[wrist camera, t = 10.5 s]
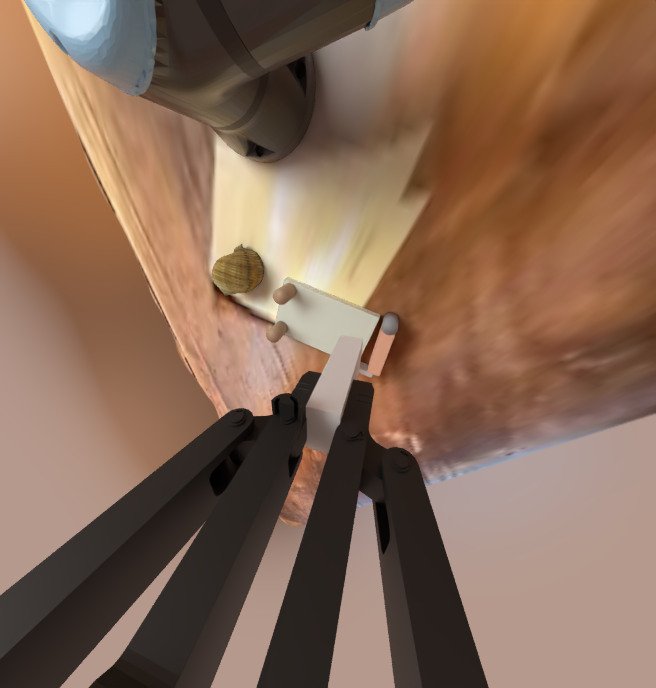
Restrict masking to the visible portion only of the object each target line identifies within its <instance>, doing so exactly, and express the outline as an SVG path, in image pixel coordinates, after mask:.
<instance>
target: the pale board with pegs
mask: <svg viewBox="0 0 656 688" xmlns="http://www.w3.org/2000/svg"><path fill="white" fill-rule="evenodd" d="M273 298H274V300H275V302H276V303H278V304H279V307H278V312H277V317H276V322H275V325H274V326H273V327H272V328H270V329H269V330H268V331H267V333H266V337H267V339H268V340H269V341H271V342H277V341H278V340H279V339H280V338H281V337H282V336H283V335H286V336H288V337H291V338H293V339H295V340H298V341H300V342H302V343H305V344H307V345H310V346H312V347H314V348H317V349H319V350H321V351H324V352H326V353H328V354H332V352H333V350H334V348H335V346H336V343H337V341H338V339H339V337H340V335H343V336H349V337H355V338H361V339H363V346H362V353H363V351H364V349H365V347H366V345H367V343H368V341H369V339H370V337H371V335H372V333H373V331H374V328H375V326H376V324H377V322H378V320H379V318H380V314H377V313H375V312H373V311H370V310H368V309H365V308H363V307H360V306H358V305H355V304H353V303H350V302H348V301H345V300H343V299H340V298H338V297H336V296H333V295H331V294H328V293H326V292H323V291H321V290H318V289H316V288H313V287H311V286H308V285H306V284H303V283H301V282H299V281H296V280H294V279H291V278H289V277H287V278H286V279H284V282H283V286H282V287H280V288H279V289H277V290H276V291H275V292H274V294H273ZM362 353H361V355H362ZM367 369H368V364H366V363H363V362H361V361H360V368H359V373H361V374H363V375H366V376H368V377H370V378H371V377H372V375H373V374H370V373H367Z"/></svg>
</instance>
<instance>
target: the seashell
mask: <svg viewBox="0 0 656 688" xmlns="http://www.w3.org/2000/svg"><path fill="white" fill-rule="evenodd" d="M263 268H264V267H263V263H262V260H261V258H260V257H259V255H258V254H257V252H254V251H252V250H250V249H245V248H243V247H242V244H241V245H240V246H238V247H236V248H235V249H234V253H232V254H230V255H226V256H223V257H221V258H220V259H219V260H217V261H216V263H215V264H214V267H213V270H212V278H213V281H214V283H215V284H216V285H217V286H218V287H219V288H220V289H221V291H222V292H223V293H224V294H225V295H231V294H236V293H246V292H248V291H250V290H252V289H253V288H255V287H256V286H257V285H259V283H260V282H261V280H262V277H263Z"/></svg>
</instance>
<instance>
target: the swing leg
mask: <svg viewBox="0 0 656 688" xmlns="http://www.w3.org/2000/svg"><path fill="white" fill-rule="evenodd" d="M398 321H399V318H398V316H397V314H395V313H393V312H389V313H387V314H385V316H384V318H383V323H382V325H381V328H380V331H379V334H378V337H377V340H376V343H375V346H374V349H373V352H372V355H371V358H370V361H369V364H368V369H367V373H370V374H373V375H377V376H380V373H381V370H382V368H383V365H384V363H385V360H386V357H387V355H388V352H389V350H390V347H391V344H392V342H393V339H394V337H395V333H396V332H397V331H398Z"/></svg>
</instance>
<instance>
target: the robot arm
mask: <svg viewBox="0 0 656 688" xmlns="http://www.w3.org/2000/svg"><path fill="white" fill-rule="evenodd" d="M24 1H25V3H26V4H27V6H28V7H29V9H30V10H31V12H32V13H33V15H34V16H35V18H36V19H37V21H38V22H39V23H40V25H41V26H42V27H43V29H44V30H45V31H46V33H47V34H48V35H49V36H50V37H51V39H52V40H53V41H54V42H55V43H56V44H57V45H58V47H59V48H60V49H61V50H62V51H63V52H64V53H66V54H67V55H68V56H70V57H71V58H72V60H74V61H75V62H76V63H77V64H78V65H80V66H81V67H82V68H84V69H85V70H87V71H88V72H90V73H92V74H94V75H96V76H97V77H99V78H101V79H103V80H105V81H106V82H108V83H110V84H112V85H114V86H116V87H117V88H118V89H120V90H121V91H123V92H124V93H127V94H129V95H132V96H134V95H135V96H140V97H142V98H144V99H147V100H149V101H152V102H154V103H156V104H159V105H161V106H164V107H166V108H168V109H171V110H173V111H175V112H178V113H180V114H183V115H185V116H187V117H190V118H192V119H195V120H197V121H199V122H202V123H204V124H206V125H209V126H211V128H212V129H213V130H214V131H215V132H216V133H217V134H218V135H219V136H220V137H221V139H222V140H223V141H224V142H225V143H226V144H227V145H228V146H229V147H230V148H231V149H233V150H234V151H235V152H237V153H238V154H240V155H242V156H244V157H246V158H249V159H252V160H255V161H259V162H273V161H277V160H280V159H282V158H284V157H285V156H287V155H288V154H289V153H291V152H292V151H293V150H294V149H295V148H296V146H297V145H298V144H299V142H300V141H301V139H302V138H303V136H304V134H305V132H306V130H307V127H308V125H309V122H310V119H311V115H312V111H313V106H314V99H315V72H314V64H313V59H312V55H311V53H312V52H314V51H316V50H318V49H320V48H322V47H325V46H327V45H329V44H331V43H333V42H335V41H337V40H339V39H341V38H343V37H345V36H347V35H350V34H352V33H354V32H356V31H358V30H360V29H362V28H365V30H366V31H368V30H370V29H372V28H373V27H374V26H375V25H376V23H377V22H378V20H380V19H382V18H384V17H385V16H387V15H389V14H391V13H393V12H395V11H396V10H398V9H400V8H402V7H404V6H405V5H407V4H409V3H411V2H412V1H414V0H24ZM362 346H363V339H361V338H355V337H349V336H343V335H340V337H339V339H338V341H337V343H336V346H335V348H334V350H333V352H332V354H331V356H330V358H329V360H328V362H327V364H326V366H325V368H324V370H323V372H322V373H317V372H312V371H308V372H307V373H305V374H304V375H302V377H301V379H300V380H299V383H298V384H297V385H296V388H295V389H294V390H293V392H292V394H290V393H285V394H280V395H278V396H276V397H274V398H273V399H272V400H271V402H272V411H273V415H269V416H253V414H252V412H251V411H249V410H248V409H244V408H239V409H235V410H232V411H230V412H228V413H227V414H225V415H224V416H223V417H222V418H220V419H219V420H218V421H217V422H215V423H214V424H213V425H212V426H210V427H209V428H208V429H207V430H206V431H204V432H203V433H202V434H201V435H199V436H198V437H197V438H195V439H194V440H193V441H192V442H191V443H189V444H188V445H187V446H186V447H184V448H183V449H182V450H181V451H179V452H178V453H177V454H176V455H174V456H173V457H172V458H171V459H169V460H168V461H167V462H166V463H165V464H163V465H162V466H161V467H159V468H158V469H157V470H156V471H154V472H153V473H152V474H151V475H149V476H148V477H147V478H146V479H144V480H143V481H142V482H141V483H140V484H139V485H137V486H136V487H135V488H133V489H132V490H131V491H130V492H128V493H127V494H126V495H125V496H123V497H122V498H121V499H120V500H118V501H117V502H116V503H115V504H113V505H112V506H111V507H110V508H109V509H107V510H106V511H105V512H103V513H102V514H101V515H100V516H99V517H97V518H96V519H95V520H94V521H92V522H91V523H90V524H89V525H87V526H86V527H85V528H84V529H82V530H81V531H80V532H79V533H77V534H76V535H75V536H74V537H72V538H71V539H70V540H69V541H67V542H66V543H65V544H64V545H63V546H61V547H60V548H59V549H57V550H56V551H55V552H54V553H52V554H51V555H50V556H49V557H48V558H46V559H45V560H44V561H43V562H41V563H40V564H39V565H38V566H36V567H35V568H34V569H33V570H31V571H30V572H29V573H28V574H26V575H25V576H24V577H23V578H21V579H20V580H19V581H18V582H17V583H15V584H14V585H13V586H11V587H10V588H9V589H8V590H6V591H5V592H4V593H3V594H2V595H0V688H60V687H61V685H62V684H63V683H64V682H65V681H66V680H67V679H68V677H69V676H70V675H71V674H72V673H73V672H74V671H75V669H76V668H77V667H78V666H79V665H80V664H81V663H82V661H83V660H84V659H85V658H86V657H87V655H89V653H90V652H91V651H92V650H93V649H94V648H95V647H96V645H97V644H98V643H99V642H100V641H101V640H102V639H103V638H104V636H105V635H106V634H107V633H108V632H109V631H110V630H111V628H112V627H113V626H114V625H115V624H116V623H117V622H118V620H119V619H120V618H121V617H122V616H123V615H124V614H125V612H126V611H127V610H128V609H129V608H130V607H131V606H132V605H133V603H134V602H135V601H136V600H137V599H138V598H139V597H140V595H141V594H142V593H143V592H144V591H145V590H146V588H147V587H148V586H149V585H150V584H151V583H152V582H153V581H154V579H155V578H156V577H157V576H158V575H159V574H160V572H161V571H162V570H163V569H164V568H165V567H166V566H167V565H168V563H169V562H170V561H171V560H172V559H173V558H174V557H175V556H176V554H177V553H178V552H179V551H180V550H181V549H182V548H183V546H184V545H185V544H186V543H187V542H188V541H189V540H190V538H191V537H192V536H193V535H194V534H195V533H196V532H197V530H198V529H199V528H200V527H201V526H202V525H203V524H204V525H203V527H202V528H201V530H200V531H199V533H198V535H197V536H196V538H195V539H194V541H193V543H192V544H191V546H190V547H189V549H188V551H187V552H186V554H185V555H184V557H183V559H182V560H181V562H180V563H179V565H178V567H177V568H176V570H175V571H174V573H173V574H172V576H171V578H170V579H169V581H168V582H167V584H166V586H165V587H164V589H163V590H162V592H161V594H160V595H159V597H158V599H157V600H156V602H155V603H154V605H153V606H152V608H151V610H150V611H149V613H148V614H147V616H146V618H145V619H144V621H143V622H142V624H141V626H140V627H139V629H138V630H137V632H136V634H135V635H134V637H133V638H132V640H131V642H130V643H129V645H128V646H127V648H126V649H125V651H124V652H123V654H122V655H121V657H120V658H119V659H118V660H117V662H115V664H114V665H113V666H112V667H111V668H110V669H108V670H107V671H106V672H105V673H104V674H102V675H101V676H100V677H99V678H98V679H96V680H95V681H94V682H93V683H92V685H91V686H90V687H89V688H210V687H211V685H212V682H213V680H214V677H215V675H216V672H217V670H218V667H219V665H220V662H221V660H222V657H223V655H224V652H225V650H226V647H227V645H228V642H229V640H230V637H231V635H232V632H233V630H234V627H235V625H236V622H237V619H238V617H239V615H240V612H241V609H242V607H243V605H244V602H245V600H246V597H247V594H248V592H249V590H250V587H251V584H252V582H253V579H254V577H255V575H256V572H257V570H258V567H259V565H260V562H261V560H262V557H263V555H264V552H265V549H266V547H267V544H268V542H269V539H270V537H271V535H272V532H273V530H274V527H275V524H276V522H277V519H278V517H279V515H280V512H281V510H282V507H283V505H284V502H285V500H286V497H287V495H288V492H289V490H290V487H291V485H292V482H293V480H294V477H295V475H296V472H297V470H298V467H299V464H300V462H301V459H302V455H303V447H304V445H305V443H306V448H309V449H313V450H316V451H320V452H323V453H327V454H328V456H327V459H326V463H325V466H324V469H323V472H322V476H321V479H320V482H319V486H318V489H317V492H316V495H315V499H314V502H313V505H312V508H311V512H310V515H309V518H308V521H307V525H306V528H305V531H304V534H303V538H302V541H301V544H300V548H299V551H298V554H297V557H296V561H295V564H294V567H293V570H292V574H291V577H290V580H289V583H288V587H287V590H286V593H285V596H284V600H283V603H282V606H281V610H280V613H279V616H278V620H277V623H276V626H275V629H274V632H273V636H272V639H271V642H270V645H269V649H268V652H267V655H266V658H265V662H264V665H263V668H262V672H261V675H260V678H259V682H258V684H257V688H328V682H329V675H330V669H331V663H332V657H333V651H334V644H335V638H336V632H337V625H338V619H339V612H340V606H341V600H342V594H343V587H344V581H345V575H346V568H347V562H348V556H349V549H350V542H351V536H352V530H353V524H354V518H355V511H356V505H357V499H358V493H359V490H360V491H361V492H362V493H364V494H365V495H367V496H368V497H369V498H371V499H372V501H373V509H374V517H375V526H376V533H377V541H378V550H379V559H380V567H381V575H382V583H383V592H384V600H385V609H386V617H387V625H388V634H389V641H390V650H391V658H392V666H393V675H394V683H395V688H489V687H488V684H487V681H486V678H485V675H484V671H483V668H482V665H481V662H480V659H479V655H478V652H477V649H476V646H475V643H474V640H473V637H472V633H471V630H470V627H469V624H468V621H467V617H466V614H465V611H464V608H463V605H462V601H461V598H460V595H459V592H458V589H457V586H456V583H455V579H454V576H453V573H452V570H451V567H450V563H449V560H448V557H447V554H446V551H445V548H444V544H443V541H442V538H441V535H440V532H439V529H438V525H437V522H436V519H435V516H434V513H433V509H432V506H431V504H430V500H429V497H428V493H427V490H426V487H425V484H424V481H423V478H422V474H421V471H420V468H419V465H418V463H417V461H416V459H415V457H414V456H413V455H412V454H411V453H410V452H408V451H407V450H405V449H403V448H398V447H393V448H389V449H386V448H384V447H382V446H381V445H379V444H378V443H376V442H375V441H374V440H373V439H372V437H371V436H370V433H369V421H370V414H371V408H372V401H373V395H374V388H373V386H372V383H369V382H364V381H359V380H357V378H358V374H359V368H360V361H361V353H362ZM205 521H206V522H205ZM204 522H205V523H204Z"/></svg>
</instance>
